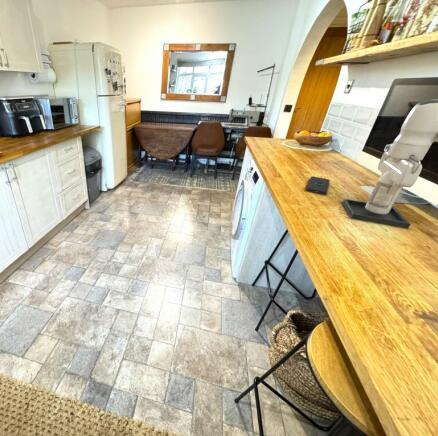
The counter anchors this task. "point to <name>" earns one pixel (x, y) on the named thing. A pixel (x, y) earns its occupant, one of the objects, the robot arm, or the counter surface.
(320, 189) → the smart home device
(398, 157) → the robot arm
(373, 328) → the counter surface
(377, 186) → the bath foam
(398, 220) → the tray
